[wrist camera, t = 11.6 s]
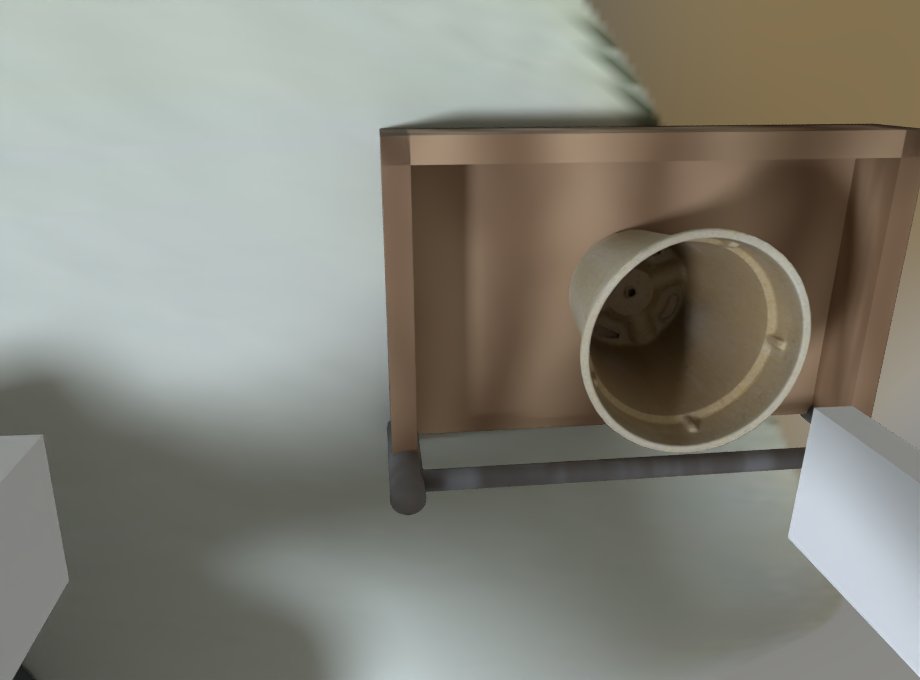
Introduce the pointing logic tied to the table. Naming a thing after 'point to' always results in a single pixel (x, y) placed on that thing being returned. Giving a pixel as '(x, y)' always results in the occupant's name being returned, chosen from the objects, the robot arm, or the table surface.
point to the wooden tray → (589, 221)
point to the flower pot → (688, 334)
